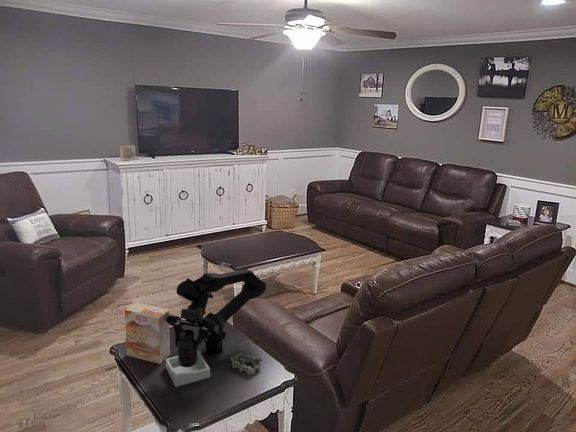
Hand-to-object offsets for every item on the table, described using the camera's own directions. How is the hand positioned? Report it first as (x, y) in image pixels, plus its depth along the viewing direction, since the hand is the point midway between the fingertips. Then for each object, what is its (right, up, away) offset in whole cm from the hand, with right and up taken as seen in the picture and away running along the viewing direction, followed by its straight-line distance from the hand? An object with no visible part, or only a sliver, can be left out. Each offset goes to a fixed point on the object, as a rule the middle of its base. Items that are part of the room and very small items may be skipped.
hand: (185, 348), depth 154 cm
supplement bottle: (0, -6, +3) cm, 7 cm away
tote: (0, -10, +5) cm, 11 cm away
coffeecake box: (-18, -7, +14) cm, 24 cm away
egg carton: (+20, -11, +10) cm, 25 cm away
